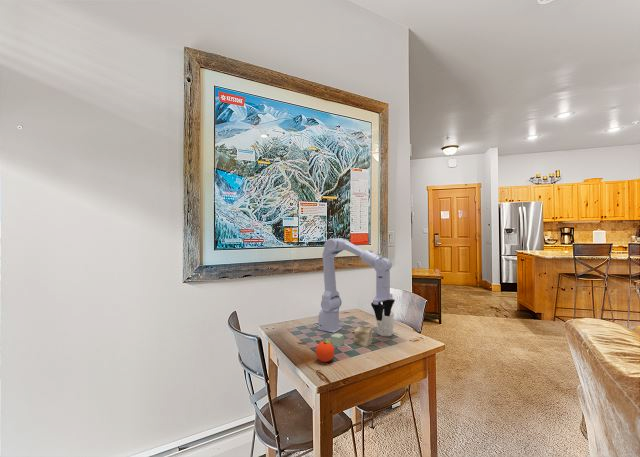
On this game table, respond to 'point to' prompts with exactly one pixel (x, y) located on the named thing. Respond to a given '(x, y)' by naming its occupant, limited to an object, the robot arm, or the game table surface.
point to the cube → (337, 340)
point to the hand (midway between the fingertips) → (383, 318)
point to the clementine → (325, 351)
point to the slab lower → (363, 341)
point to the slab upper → (363, 333)
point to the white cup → (386, 325)
